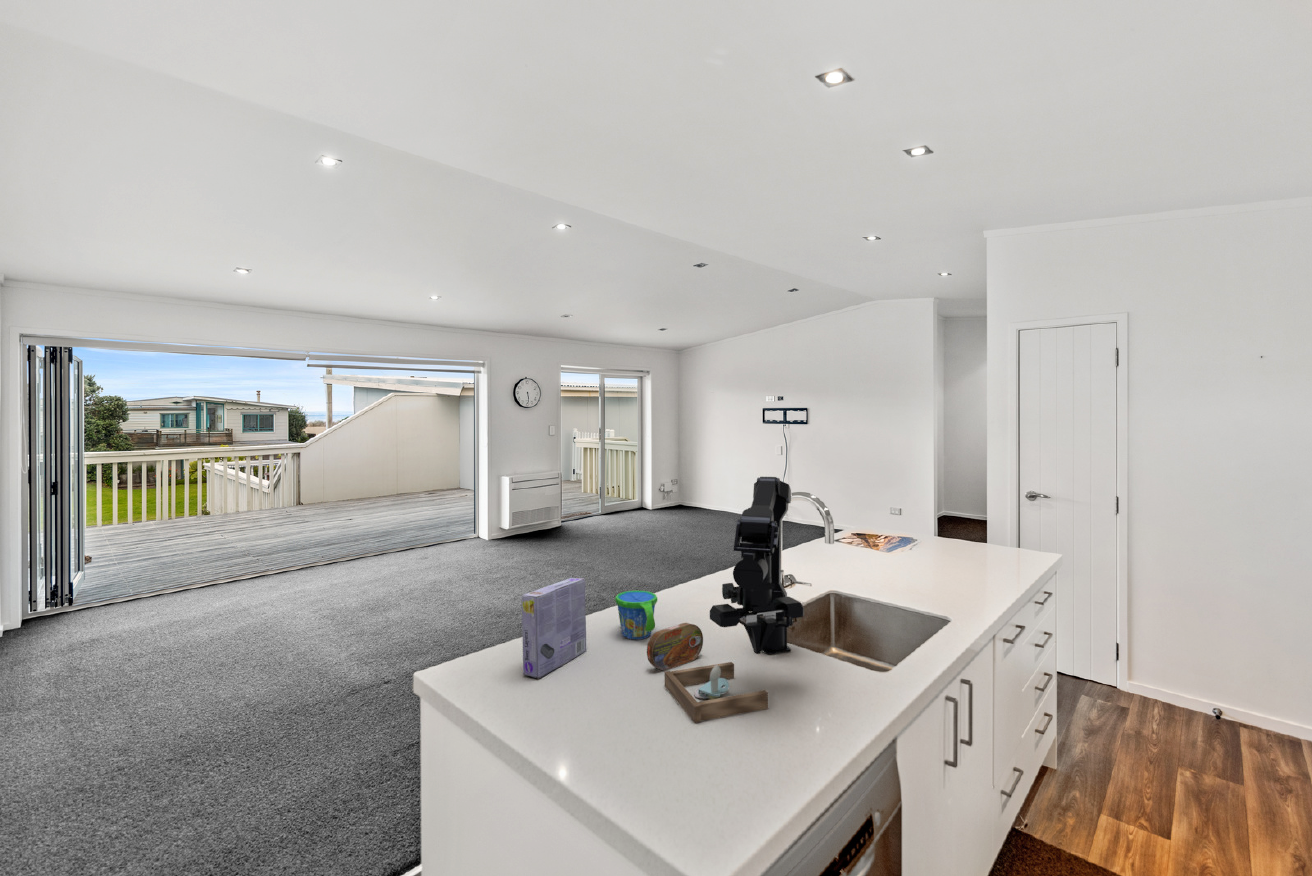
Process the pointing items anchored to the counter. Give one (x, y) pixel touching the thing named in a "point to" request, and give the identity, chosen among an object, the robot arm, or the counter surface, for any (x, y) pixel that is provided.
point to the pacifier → (713, 685)
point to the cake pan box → (553, 626)
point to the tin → (674, 646)
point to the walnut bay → (715, 706)
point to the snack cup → (636, 613)
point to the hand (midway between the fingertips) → (757, 653)
